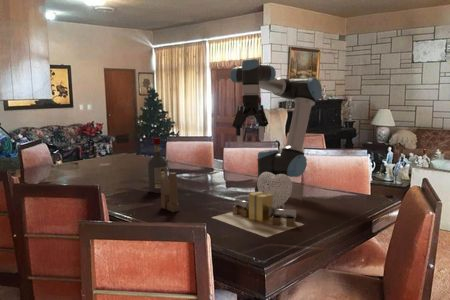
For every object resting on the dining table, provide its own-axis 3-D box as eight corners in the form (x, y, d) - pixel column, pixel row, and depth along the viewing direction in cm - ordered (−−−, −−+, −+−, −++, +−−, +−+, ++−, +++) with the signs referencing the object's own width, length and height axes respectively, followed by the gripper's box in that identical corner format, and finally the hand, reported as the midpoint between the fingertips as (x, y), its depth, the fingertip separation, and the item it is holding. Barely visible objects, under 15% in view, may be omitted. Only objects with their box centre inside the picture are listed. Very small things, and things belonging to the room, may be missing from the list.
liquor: (147, 191, 224) (144, 138, 220) (160, 188, 231) (158, 137, 227) (157, 193, 218) (155, 139, 214) (170, 190, 225) (168, 138, 221)
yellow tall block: (272, 220, 166) (272, 194, 164) (262, 223, 162) (262, 197, 160) (259, 216, 172) (259, 191, 170) (248, 219, 168) (248, 193, 167)
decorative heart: (297, 210, 183) (297, 173, 181) (284, 215, 175) (284, 177, 173) (265, 203, 195) (265, 169, 193) (252, 208, 187) (251, 172, 185)
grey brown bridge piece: (269, 225, 160) (269, 208, 159) (270, 221, 165) (270, 205, 164) (295, 227, 157) (295, 210, 156) (296, 223, 162) (296, 206, 161)
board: (248, 209, 186) (248, 207, 185) (304, 226, 160) (304, 224, 160) (211, 219, 172) (211, 217, 172) (266, 239, 146) (266, 237, 146)
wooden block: (167, 206, 193) (166, 169, 190) (179, 211, 185) (178, 173, 182) (161, 207, 190) (159, 170, 188) (172, 212, 182) (171, 174, 180)
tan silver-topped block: (232, 213, 177) (232, 198, 176) (240, 211, 180) (240, 196, 179) (247, 218, 169) (246, 202, 169) (255, 215, 173) (255, 200, 172)
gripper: (264, 94, 189) (264, 138, 192) (223, 95, 173) (224, 143, 176) (275, 94, 183) (275, 140, 186) (235, 94, 168) (235, 144, 170)
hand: (251, 141), depth 181 cm, fingers open, 13 cm apart
